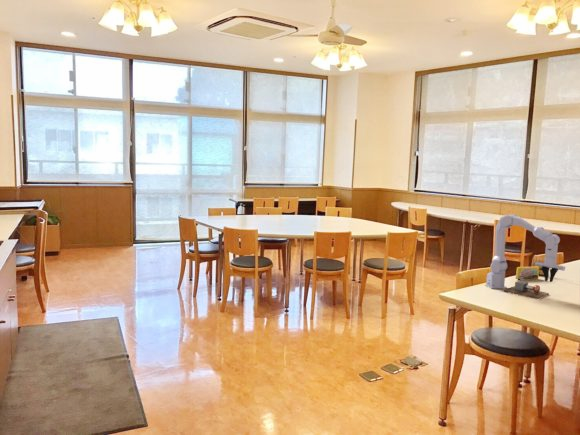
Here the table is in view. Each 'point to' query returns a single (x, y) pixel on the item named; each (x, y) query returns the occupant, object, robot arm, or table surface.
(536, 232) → the robot arm
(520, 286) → the bearing housing
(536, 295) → the base plate
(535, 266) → the ammunition clip
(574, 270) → the table surface
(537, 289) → the shaft
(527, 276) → the candy box
